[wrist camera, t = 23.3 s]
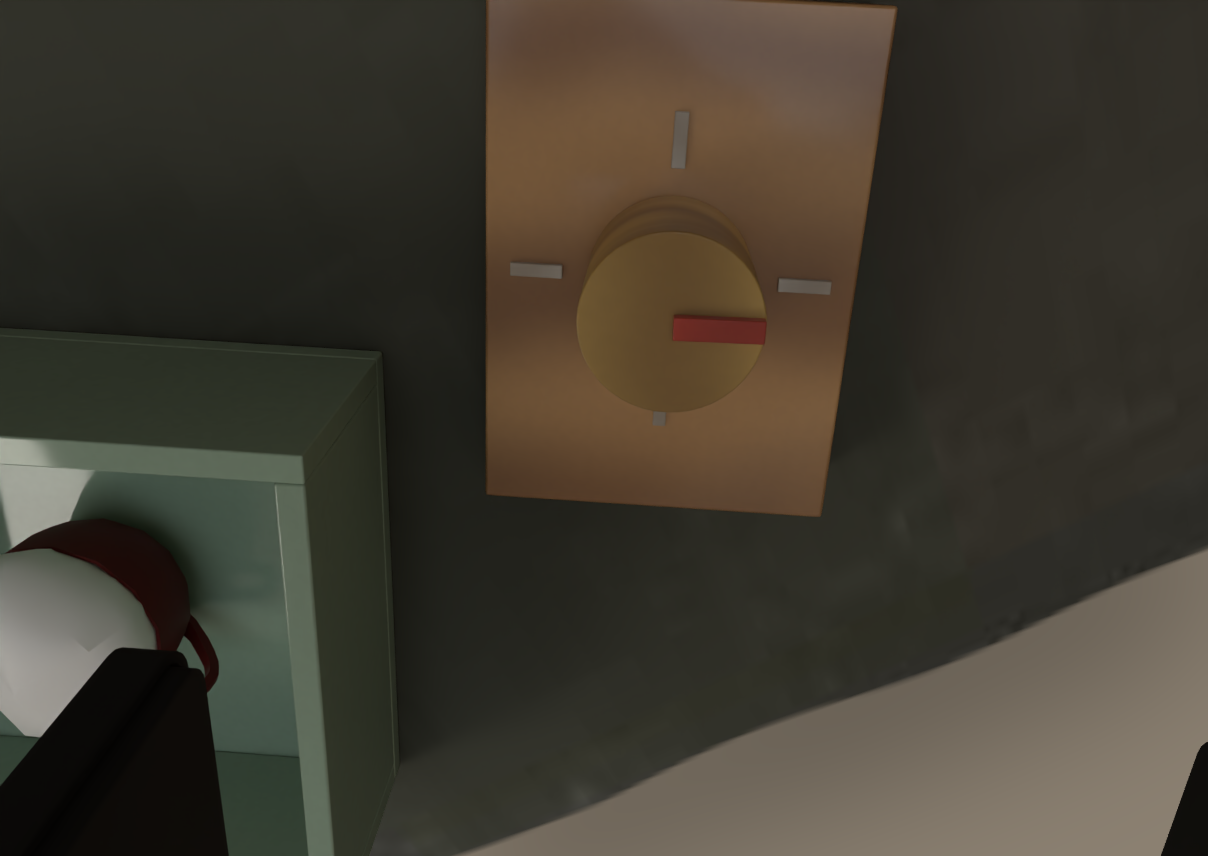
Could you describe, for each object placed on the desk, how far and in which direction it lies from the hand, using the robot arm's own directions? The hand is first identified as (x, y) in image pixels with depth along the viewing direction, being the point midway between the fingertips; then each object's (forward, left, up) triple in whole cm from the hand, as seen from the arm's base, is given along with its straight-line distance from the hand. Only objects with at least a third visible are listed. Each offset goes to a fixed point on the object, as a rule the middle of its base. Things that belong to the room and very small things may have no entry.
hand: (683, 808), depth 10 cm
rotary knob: (0, 0, -19) cm, 19 cm away
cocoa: (+12, -18, -22) cm, 31 cm away
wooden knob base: (0, 0, -22) cm, 22 cm away
